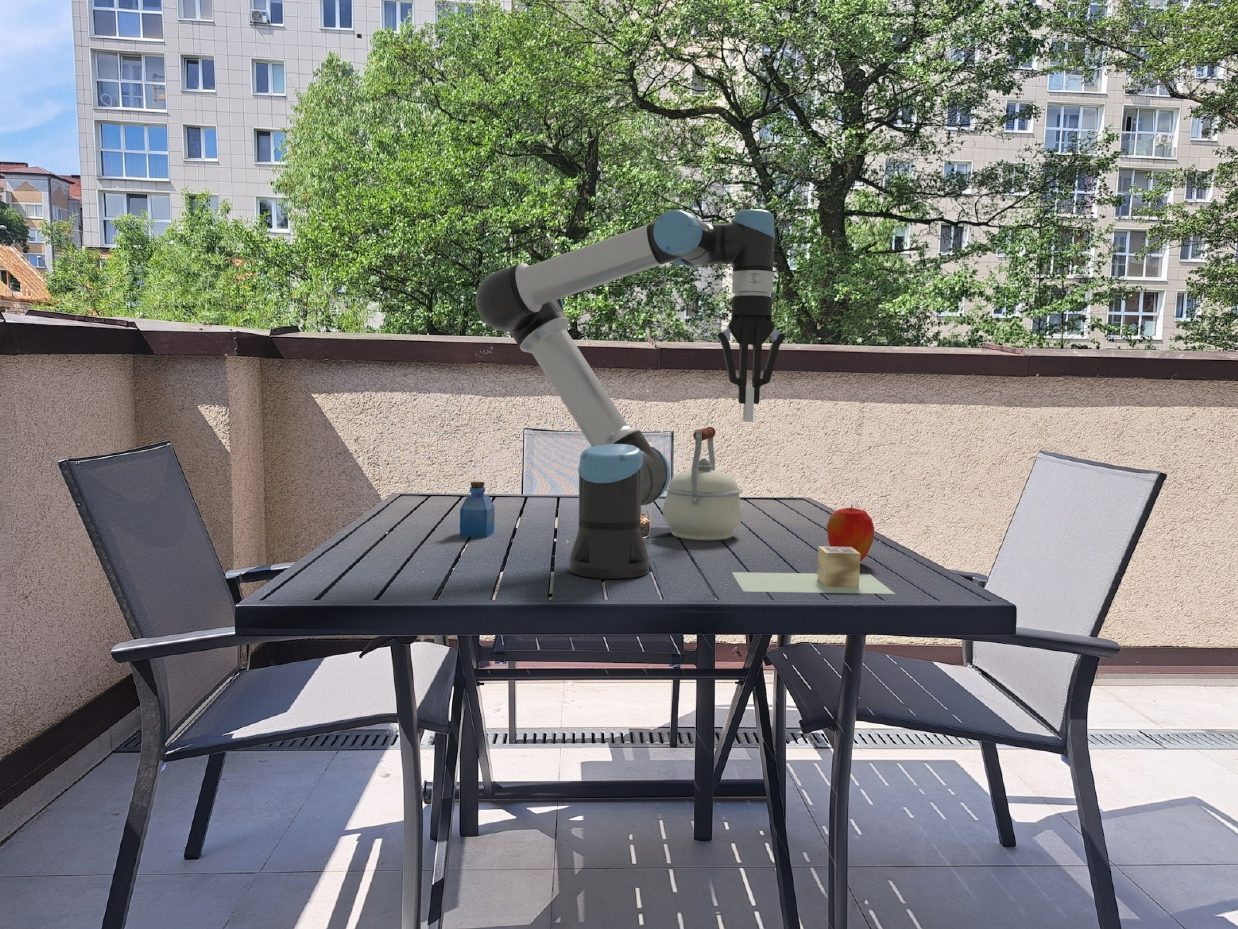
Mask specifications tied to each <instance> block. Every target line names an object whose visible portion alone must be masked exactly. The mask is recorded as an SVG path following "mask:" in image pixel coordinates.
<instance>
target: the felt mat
mask: <svg viewBox="0 0 1238 929" xmlns="http://www.w3.org/2000/svg"><path fill="white" fill-rule="evenodd" d="M731 573H732V575H733V577H734V578H735V580H736V582H737V583H738V585H739V587H740V588H741V590H742V592H745V593H748V592H749V593H750V592H754V593H755V592H756V593H759V592H760V593H762V592H763V593H815V594H817V593H819V594H820V593H821V594H822V593H823V594H826V593H827V594H837V593H838V594H840V593H841V594H876V595H878V594H884V595H887V594H888V595H889V594H890V595H895V594H896V593H895V592H894V591H892V590H891V589H890V588H889V587H887V586H886V585H885V584H884V583H883V582H881V581H879V580H878V579H877V577H874V576H873V575H872V574H869V573H866V574H865V573H860V575H859V587H825V586H824V585H823V584H822V583H821V582H820V581H819V580H818V579H817V573H806V572H805V573H803V572H800V573H799V572H798V573H797V572H747V571H746V572H741V571H739V572H737V571H736V572H735V571H732V572H731Z"/></svg>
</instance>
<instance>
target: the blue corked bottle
mask: <svg viewBox="0 0 1238 929" xmlns="http://www.w3.org/2000/svg"><path fill="white" fill-rule="evenodd" d="M485 492H486V487H485V481H470V487H469V493H470V495H469V496H467V497H466V498H465V499H464V501H463V503H462V505H461V506H460V509H459V537H464V538H465V537H468V538H484V537H485V539H486V538H489V537H490V536H492V535H493V534H495V505H494V502H492V500H491V498H490V496H489V495H485Z"/></svg>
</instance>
